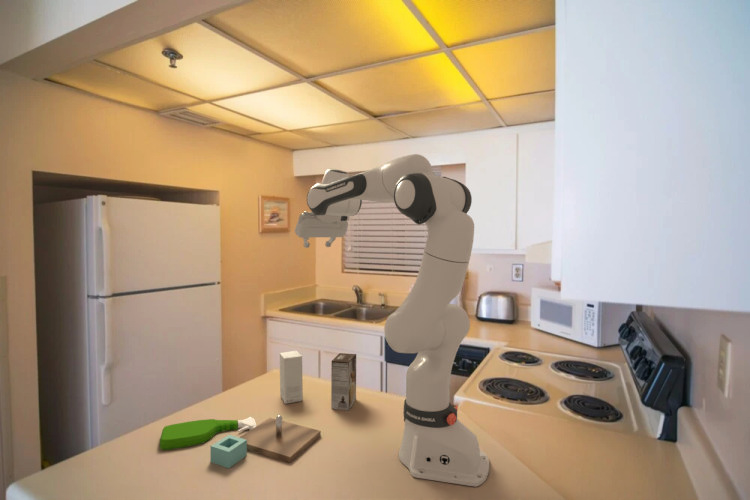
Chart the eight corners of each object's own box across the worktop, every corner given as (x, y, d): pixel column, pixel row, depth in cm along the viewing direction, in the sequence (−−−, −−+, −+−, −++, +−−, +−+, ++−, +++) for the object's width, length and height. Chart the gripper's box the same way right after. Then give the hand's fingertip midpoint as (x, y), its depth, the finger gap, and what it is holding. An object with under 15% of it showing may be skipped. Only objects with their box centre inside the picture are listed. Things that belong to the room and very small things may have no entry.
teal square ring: (246, 455, 94) (246, 439, 94) (228, 468, 89) (228, 451, 88) (229, 449, 96) (229, 434, 96) (210, 461, 91) (210, 446, 91)
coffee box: (338, 397, 130) (339, 352, 129) (356, 399, 128) (357, 353, 128) (330, 409, 121) (331, 360, 120) (349, 411, 120) (349, 362, 119)
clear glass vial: (283, 436, 101) (283, 414, 101) (279, 439, 100) (279, 417, 100) (278, 435, 102) (278, 413, 102) (274, 437, 101) (274, 416, 101)
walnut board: (320, 436, 104) (320, 430, 104) (290, 462, 91) (290, 456, 91) (269, 422, 111) (269, 417, 111) (234, 445, 98) (234, 440, 98)
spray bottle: (163, 434, 104) (253, 419, 115) (158, 454, 95) (257, 436, 105) (163, 424, 104) (253, 410, 115) (158, 443, 94) (258, 426, 105)
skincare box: (303, 401, 126) (303, 356, 126) (283, 404, 123) (284, 358, 123) (297, 392, 134) (297, 349, 134) (278, 395, 131) (279, 351, 131)
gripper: (305, 215, 123) (295, 251, 128) (353, 217, 136) (343, 250, 141) (296, 207, 127) (288, 243, 132) (344, 210, 140) (334, 242, 145)
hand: (317, 246), depth 137 cm, fingers open, 8 cm apart
